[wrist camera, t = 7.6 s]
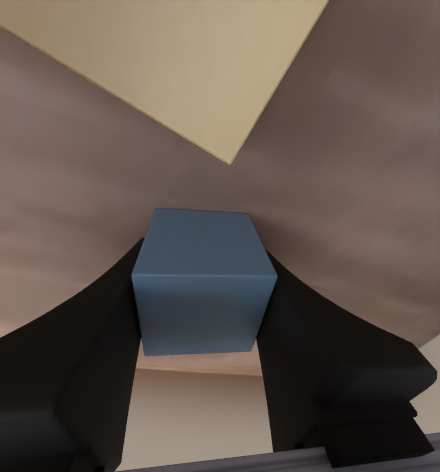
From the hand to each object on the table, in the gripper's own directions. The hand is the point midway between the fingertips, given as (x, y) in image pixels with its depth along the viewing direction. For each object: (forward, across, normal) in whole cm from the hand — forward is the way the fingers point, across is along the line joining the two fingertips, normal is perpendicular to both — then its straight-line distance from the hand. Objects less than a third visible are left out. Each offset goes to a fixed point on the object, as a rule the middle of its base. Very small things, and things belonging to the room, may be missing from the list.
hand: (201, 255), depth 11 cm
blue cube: (+1, 0, 0) cm, 1 cm away
